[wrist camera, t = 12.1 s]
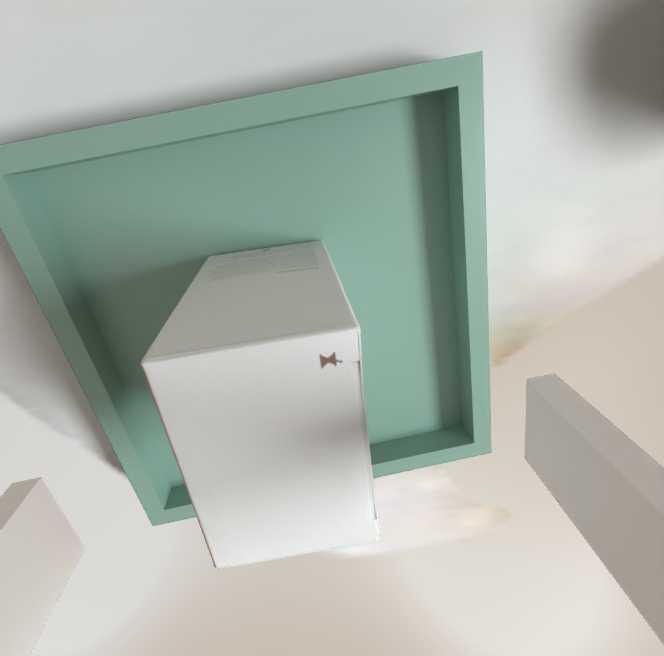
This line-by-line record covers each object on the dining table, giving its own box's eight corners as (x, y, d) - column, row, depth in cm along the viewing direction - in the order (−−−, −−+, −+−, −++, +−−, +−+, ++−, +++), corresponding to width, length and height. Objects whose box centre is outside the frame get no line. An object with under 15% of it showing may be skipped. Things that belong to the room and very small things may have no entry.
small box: (207, 253, 19) (130, 354, 10) (324, 236, 20) (362, 320, 10) (242, 395, 23) (210, 577, 13) (342, 380, 23) (383, 546, 13)
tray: (457, 63, 18) (482, 51, 16) (473, 426, 26) (491, 452, 24) (3, 152, 18) (-39, 152, 15) (164, 492, 26) (152, 526, 23)
